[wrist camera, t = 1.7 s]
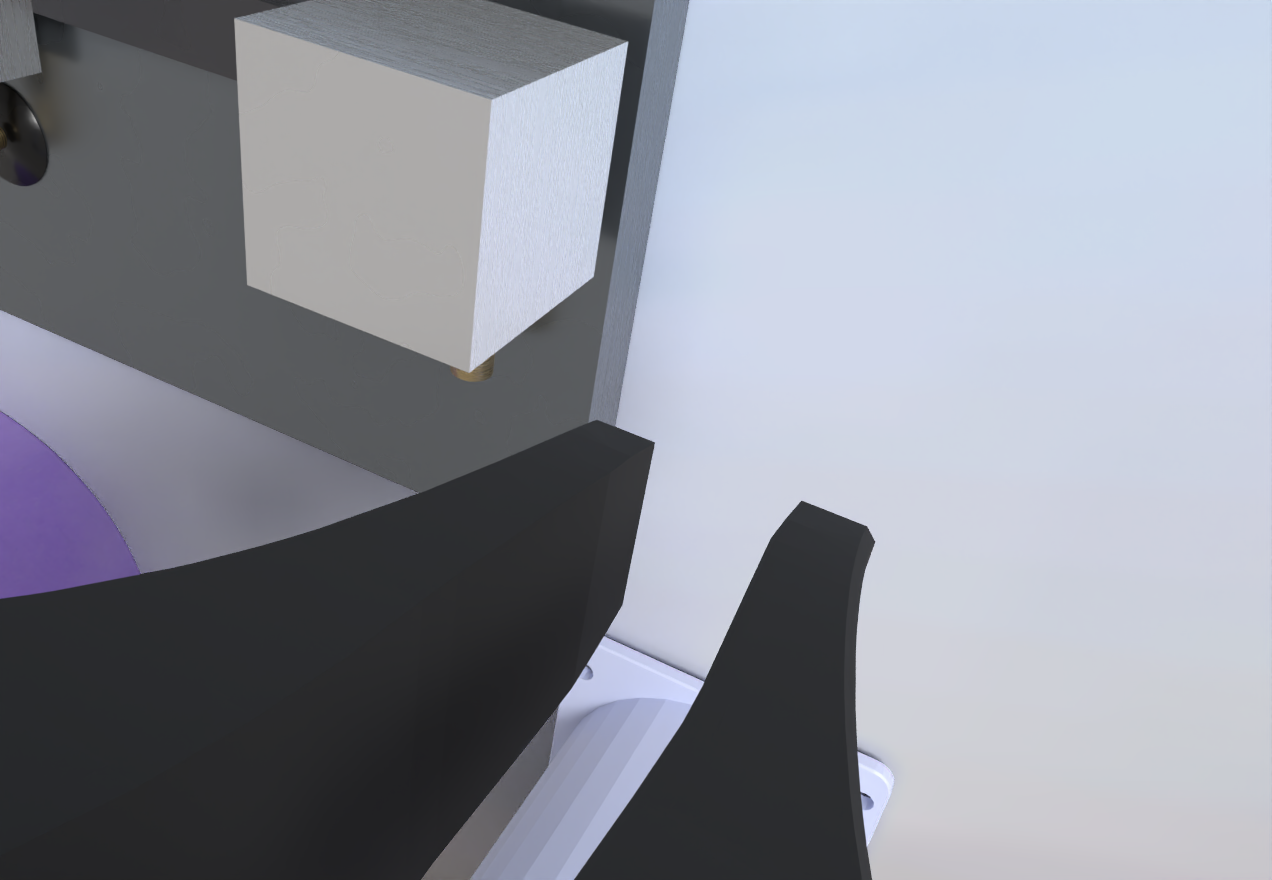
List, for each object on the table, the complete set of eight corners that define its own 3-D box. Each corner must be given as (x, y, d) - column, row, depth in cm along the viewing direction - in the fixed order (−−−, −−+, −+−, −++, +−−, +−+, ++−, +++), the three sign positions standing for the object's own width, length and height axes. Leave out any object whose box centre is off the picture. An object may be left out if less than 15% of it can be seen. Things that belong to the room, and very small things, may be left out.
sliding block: (586, 387, 21) (458, 507, 17) (408, 318, 22) (253, 418, 19) (640, 36, 17) (491, 100, 14) (423, -26, 18) (233, 18, 15)
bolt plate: (598, 521, 25) (451, 692, 20) (2, 268, 30) (-228, 359, 25) (721, -185, 17) (527, -173, 12) (-117, -372, 22) (-485, -414, 17)
